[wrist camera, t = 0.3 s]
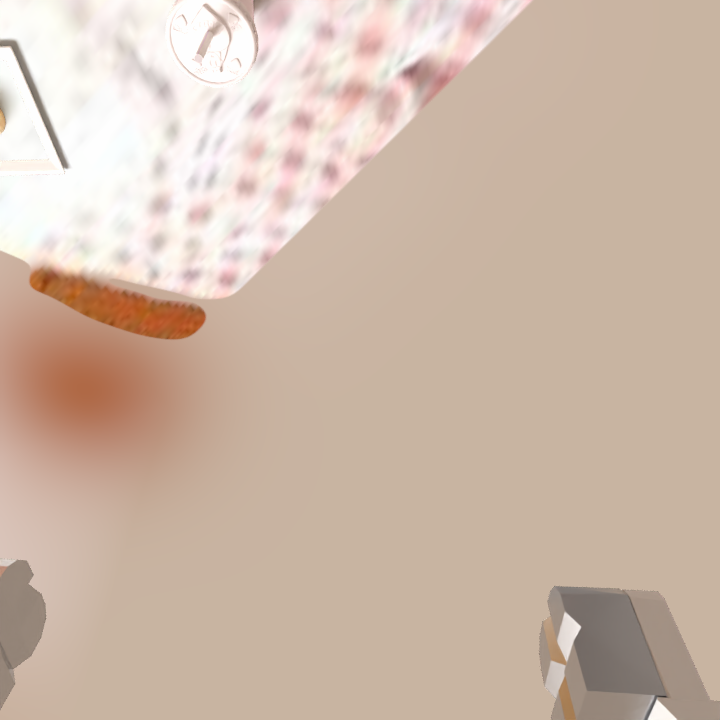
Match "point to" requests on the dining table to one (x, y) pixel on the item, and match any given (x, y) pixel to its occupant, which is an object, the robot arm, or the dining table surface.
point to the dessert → (34, 166)
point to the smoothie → (213, 39)
